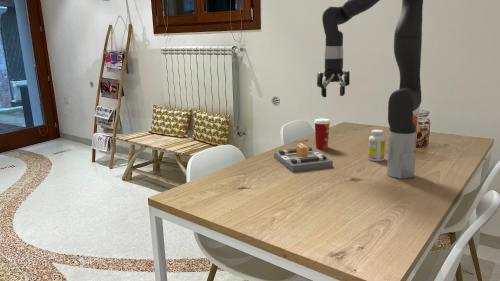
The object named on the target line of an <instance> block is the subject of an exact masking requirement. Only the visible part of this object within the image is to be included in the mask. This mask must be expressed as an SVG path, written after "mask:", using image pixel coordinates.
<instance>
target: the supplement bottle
mask: <svg viewBox="0 0 500 281" xmlns="http://www.w3.org/2000/svg"><path fill="white" fill-rule="evenodd" d="M383 134H384V130H382V129H371V135H370V136H369V137H368V151H367V153H368V155H367V158H368V160H370V161H372V162H382V161H384V160H385V149H386V148H385V146H386V138H385V136H383Z"/></svg>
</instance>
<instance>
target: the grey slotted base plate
mask: <svg viewBox="0 0 500 281" xmlns="http://www.w3.org/2000/svg"><path fill="white" fill-rule="evenodd" d="M307 147H308V151H312V149H313V148H312V147H310V146H307ZM279 153H280V154H281V155H283V154H291V153H297V148H291V149H281V150H279ZM326 157H327V156H326V155H324V154H322V155H320V156H312V157H304V158H295V159H291V162H292V163H293V164H294V163H302V162H310V161H318V160H326Z"/></svg>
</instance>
